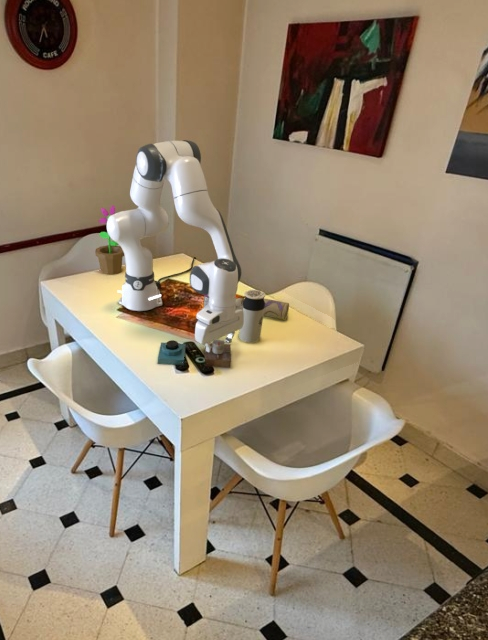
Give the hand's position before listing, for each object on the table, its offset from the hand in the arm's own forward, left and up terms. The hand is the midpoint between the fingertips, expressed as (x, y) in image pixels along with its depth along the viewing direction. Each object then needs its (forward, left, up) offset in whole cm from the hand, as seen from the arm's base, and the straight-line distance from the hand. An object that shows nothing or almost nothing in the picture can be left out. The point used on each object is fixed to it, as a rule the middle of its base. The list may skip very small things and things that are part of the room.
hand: (218, 346), depth 159 cm
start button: (0, -16, -1) cm, 16 cm away
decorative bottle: (-39, +17, -5) cm, 43 cm away
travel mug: (-16, +12, -5) cm, 21 cm away
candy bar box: (-21, -3, -5) cm, 22 cm away
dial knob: (0, 0, -2) cm, 2 cm away
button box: (0, -16, -5) cm, 17 cm away
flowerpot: (-78, -53, -5) cm, 94 cm away
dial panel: (0, 0, -5) cm, 5 cm away
